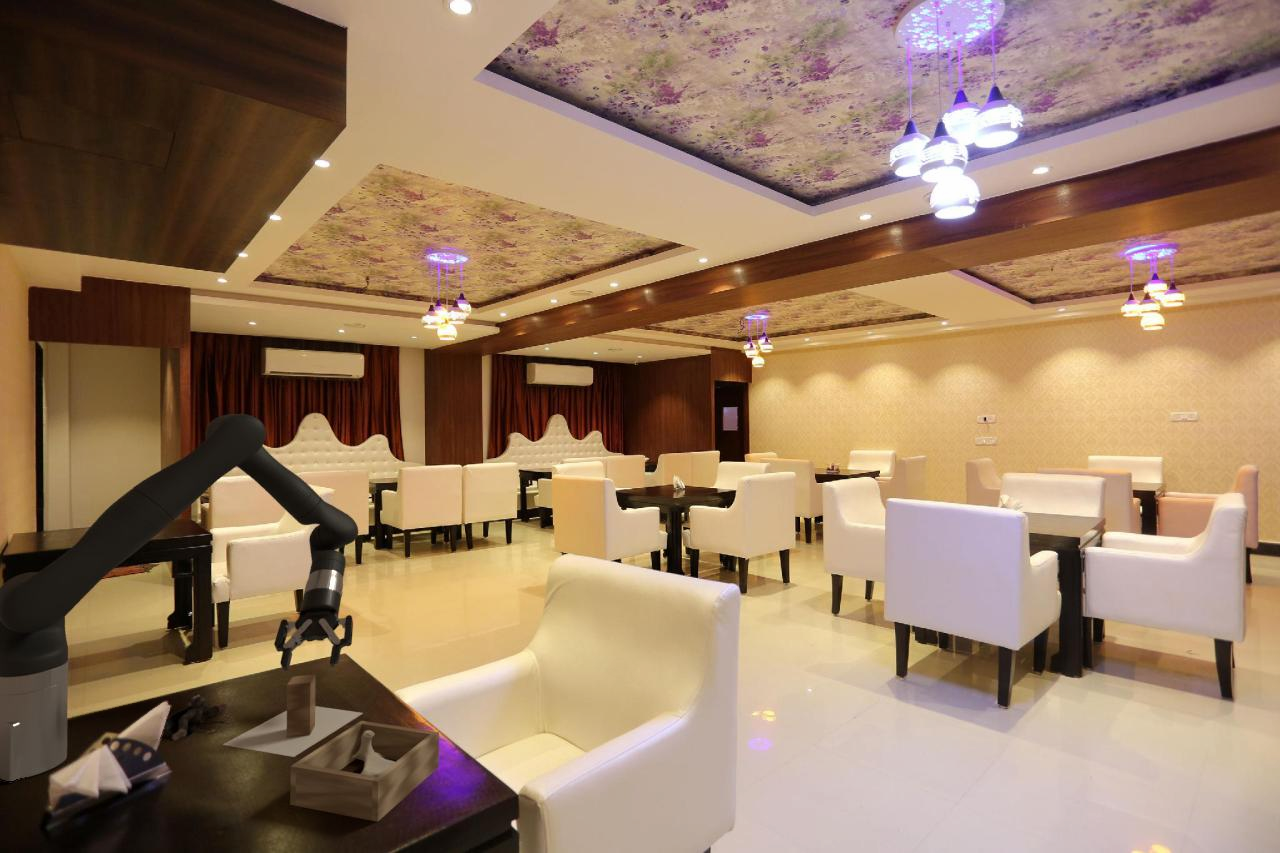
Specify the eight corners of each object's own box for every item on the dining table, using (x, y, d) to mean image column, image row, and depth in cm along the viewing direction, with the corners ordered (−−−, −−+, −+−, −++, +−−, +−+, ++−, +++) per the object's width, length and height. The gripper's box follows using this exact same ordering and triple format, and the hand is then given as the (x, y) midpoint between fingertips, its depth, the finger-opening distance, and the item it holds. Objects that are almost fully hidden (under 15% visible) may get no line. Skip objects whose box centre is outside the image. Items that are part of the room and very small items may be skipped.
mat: (293, 760, 111) (293, 756, 111) (222, 747, 116) (222, 744, 116) (363, 715, 129) (363, 713, 129) (299, 706, 133) (299, 703, 133)
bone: (364, 772, 98) (371, 720, 107) (338, 799, 99) (348, 745, 108) (420, 791, 103) (422, 740, 112) (395, 817, 104) (399, 764, 113)
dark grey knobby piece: (194, 740, 116) (157, 696, 120) (173, 778, 118) (138, 733, 122) (252, 713, 127) (218, 673, 131) (233, 748, 129) (199, 708, 133)
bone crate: (377, 821, 94) (378, 781, 94) (290, 804, 98) (290, 766, 98) (438, 766, 109) (439, 732, 109) (360, 754, 114) (361, 720, 114)
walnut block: (286, 737, 118) (287, 684, 118) (292, 728, 122) (292, 676, 122) (309, 735, 119) (310, 682, 119) (315, 725, 123) (315, 674, 123)
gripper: (283, 588, 133) (265, 661, 122) (355, 584, 137) (345, 655, 126) (289, 606, 138) (273, 678, 127) (359, 602, 142) (349, 672, 131)
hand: (309, 667), depth 127 cm, fingers open, 8 cm apart
